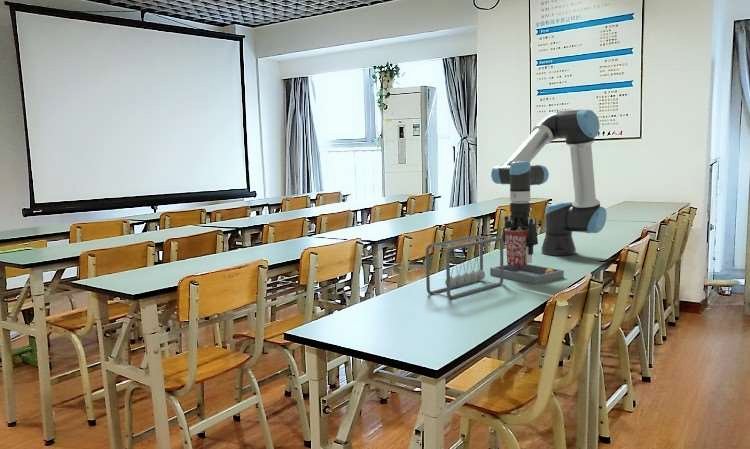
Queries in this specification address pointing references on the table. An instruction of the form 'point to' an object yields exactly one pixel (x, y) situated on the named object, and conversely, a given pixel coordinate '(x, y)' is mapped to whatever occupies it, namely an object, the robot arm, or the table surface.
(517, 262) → the mug
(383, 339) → the table surface
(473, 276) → the newton's cradle
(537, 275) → the tray
